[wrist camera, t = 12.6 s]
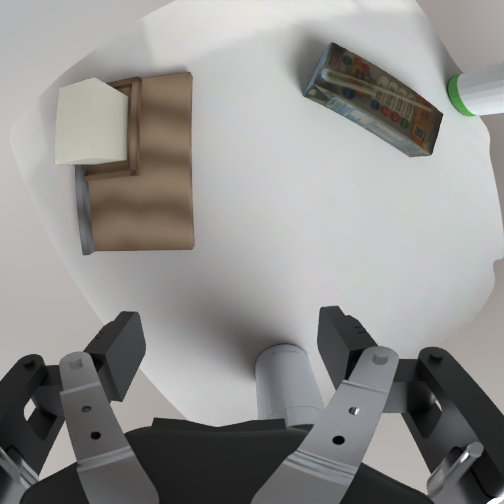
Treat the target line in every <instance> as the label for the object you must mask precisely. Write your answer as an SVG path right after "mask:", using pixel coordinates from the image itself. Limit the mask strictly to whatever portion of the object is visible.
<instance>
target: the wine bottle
mask: <svg viewBox="0 0 504 504" xmlns="http://www.w3.org/2000/svg"><path fill="white" fill-rule="evenodd" d="M448 93H449V97H450V99H451V102H452V104H453V105H454V107H455V108H456V109H457V110H458V111H459V112H460V113H461V114H463V115H466V116H478V115H486V114H494V113H504V61H503V62H499V63H495V64H492V65H488V66H485V67H481V68H478V69H475V70H472V71H469V72H466V73H462V74H460V75H457V76H454V77H453V78H452V79H451V80H450V81H449V84H448Z"/></svg>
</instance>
